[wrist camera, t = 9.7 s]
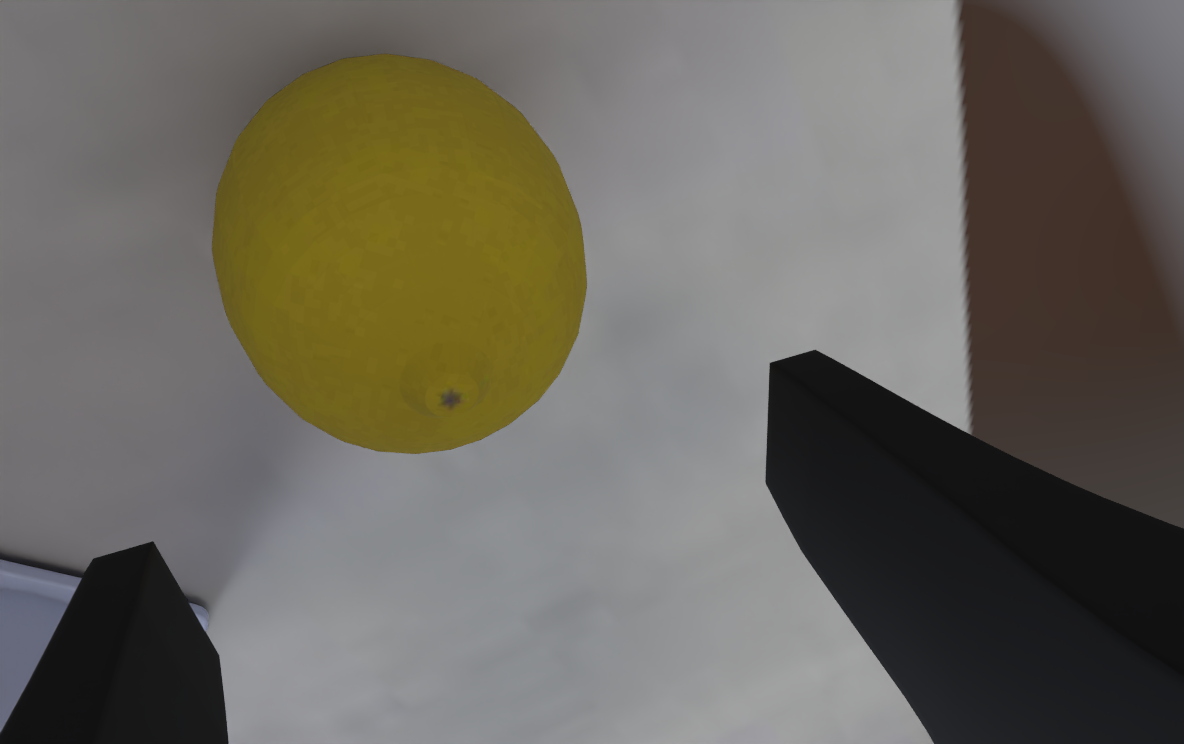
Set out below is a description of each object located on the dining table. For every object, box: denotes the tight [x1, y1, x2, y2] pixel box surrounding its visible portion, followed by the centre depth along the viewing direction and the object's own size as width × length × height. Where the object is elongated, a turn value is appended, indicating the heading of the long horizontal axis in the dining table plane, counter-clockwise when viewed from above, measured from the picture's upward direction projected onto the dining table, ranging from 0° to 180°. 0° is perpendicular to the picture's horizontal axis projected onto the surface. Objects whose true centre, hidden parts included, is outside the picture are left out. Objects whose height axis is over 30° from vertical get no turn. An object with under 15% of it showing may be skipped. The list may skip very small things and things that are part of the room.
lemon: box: [212, 54, 587, 454], centre depth 15 cm, size 6×6×8 cm
